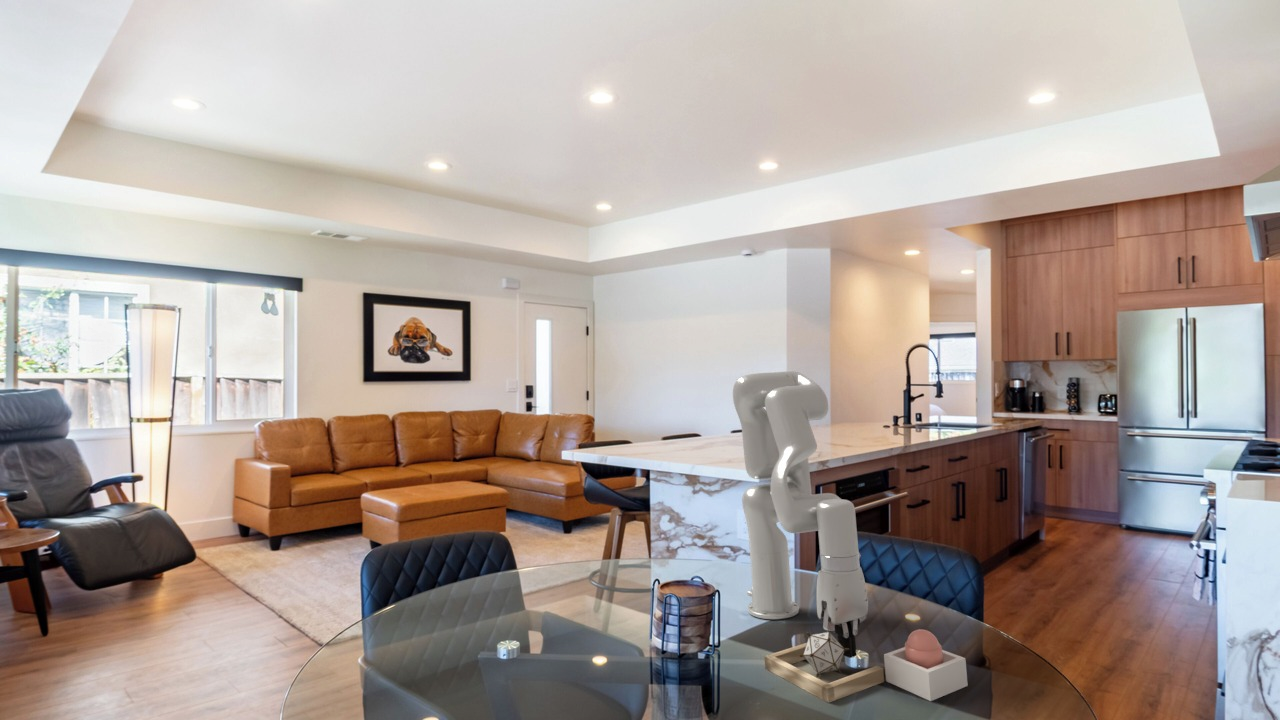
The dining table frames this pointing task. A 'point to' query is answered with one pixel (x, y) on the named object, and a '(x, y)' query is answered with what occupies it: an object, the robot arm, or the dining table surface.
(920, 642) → the dome
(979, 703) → the dining table surface
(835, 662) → the game die
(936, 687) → the white open box
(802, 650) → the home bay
